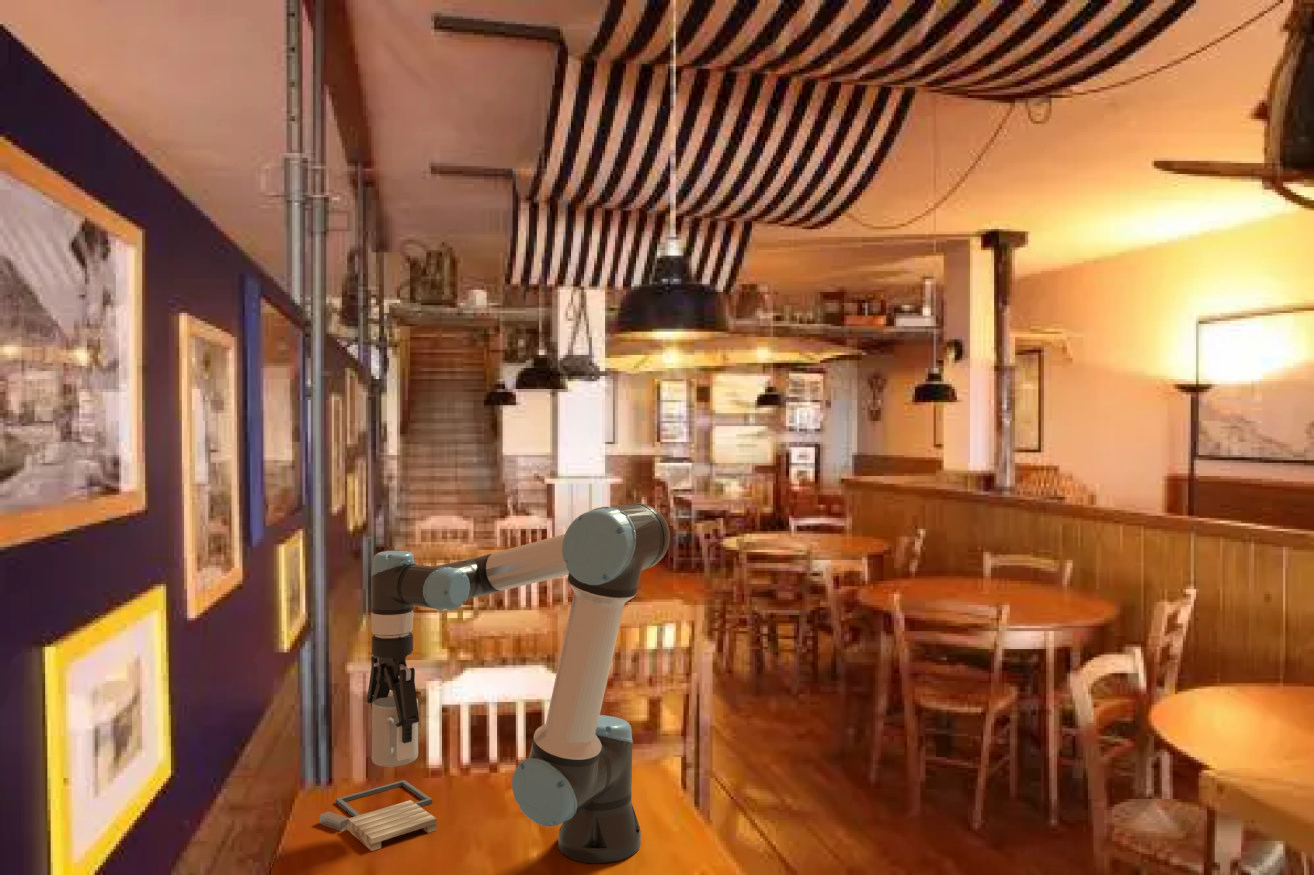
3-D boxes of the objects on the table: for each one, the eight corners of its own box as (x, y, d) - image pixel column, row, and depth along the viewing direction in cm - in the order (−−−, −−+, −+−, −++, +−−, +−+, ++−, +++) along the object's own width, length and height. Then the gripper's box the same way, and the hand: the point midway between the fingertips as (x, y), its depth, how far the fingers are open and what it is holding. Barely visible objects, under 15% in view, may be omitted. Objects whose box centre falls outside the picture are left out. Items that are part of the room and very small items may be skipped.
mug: (376, 751, 173) (377, 694, 173) (421, 749, 174) (421, 693, 173) (362, 775, 161) (362, 714, 161) (410, 773, 162) (410, 713, 161)
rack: (436, 830, 168) (436, 818, 168) (371, 851, 159) (371, 838, 159) (410, 810, 176) (410, 799, 176) (347, 829, 168) (347, 818, 168)
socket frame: (432, 803, 180) (432, 799, 180) (361, 824, 170) (361, 820, 170) (404, 783, 190) (404, 780, 190) (335, 802, 180) (335, 798, 180)
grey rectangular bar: (349, 828, 169) (349, 818, 169) (340, 832, 167) (340, 822, 167) (328, 821, 172) (328, 811, 172) (319, 825, 170) (319, 814, 170)
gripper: (439, 641, 161) (438, 763, 162) (385, 620, 178) (385, 730, 179) (400, 648, 156) (399, 773, 157) (349, 625, 173) (348, 738, 174)
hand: (391, 750), depth 168 cm, fingers closed on mug, 10 cm apart
